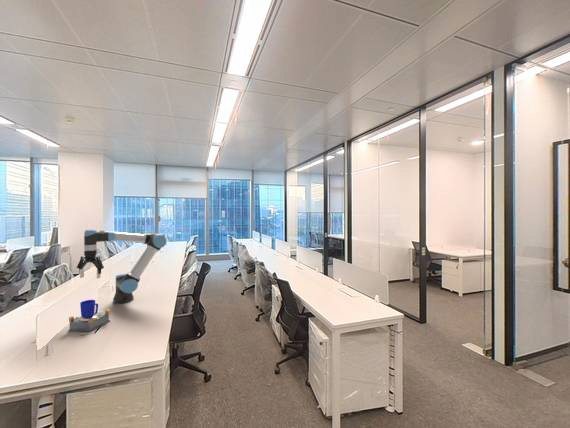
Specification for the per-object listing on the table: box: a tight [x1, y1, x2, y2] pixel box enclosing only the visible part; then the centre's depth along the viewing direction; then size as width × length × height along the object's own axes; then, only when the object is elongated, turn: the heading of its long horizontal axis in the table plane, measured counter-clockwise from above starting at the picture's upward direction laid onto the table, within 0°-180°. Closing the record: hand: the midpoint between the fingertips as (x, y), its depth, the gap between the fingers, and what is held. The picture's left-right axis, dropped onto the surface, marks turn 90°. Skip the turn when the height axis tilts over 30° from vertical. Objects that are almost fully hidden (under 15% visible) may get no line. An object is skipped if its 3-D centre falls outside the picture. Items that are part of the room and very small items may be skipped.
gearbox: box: [68, 309, 111, 334], centre depth 174 cm, size 17×18×8 cm
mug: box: [79, 299, 99, 318], centre depth 174 cm, size 8×12×10 cm
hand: (90, 277), depth 196 cm, fingers open, 13 cm apart
